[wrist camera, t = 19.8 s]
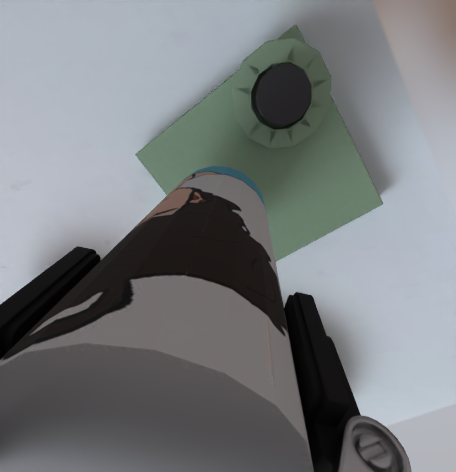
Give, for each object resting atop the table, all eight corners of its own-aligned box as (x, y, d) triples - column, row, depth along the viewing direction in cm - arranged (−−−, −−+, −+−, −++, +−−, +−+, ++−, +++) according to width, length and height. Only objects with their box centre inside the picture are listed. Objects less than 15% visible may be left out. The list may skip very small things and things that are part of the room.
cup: (198, 145, 17) (-4, 267, 3) (284, 198, 18) (398, 454, 4) (157, 227, 20) (-50, 480, 6) (234, 269, 21) (208, 567, 7)
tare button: (246, 90, 17) (245, 88, 15) (290, 56, 16) (294, 50, 15) (271, 134, 18) (274, 136, 16) (314, 104, 17) (321, 103, 15)
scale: (141, 151, 22) (125, 156, 19) (293, 29, 18) (301, 13, 15) (236, 275, 26) (234, 293, 23) (376, 198, 22) (394, 210, 19)
